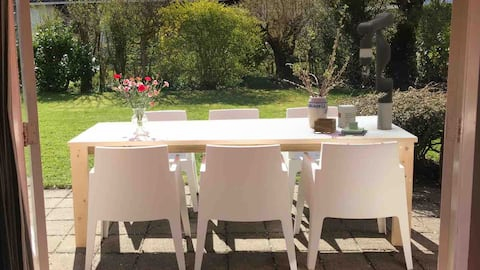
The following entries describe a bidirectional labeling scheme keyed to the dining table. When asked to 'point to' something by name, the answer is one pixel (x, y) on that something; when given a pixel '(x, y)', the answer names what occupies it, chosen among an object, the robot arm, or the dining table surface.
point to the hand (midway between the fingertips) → (365, 83)
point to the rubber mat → (353, 133)
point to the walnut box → (325, 125)
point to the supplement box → (346, 115)
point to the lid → (353, 128)
